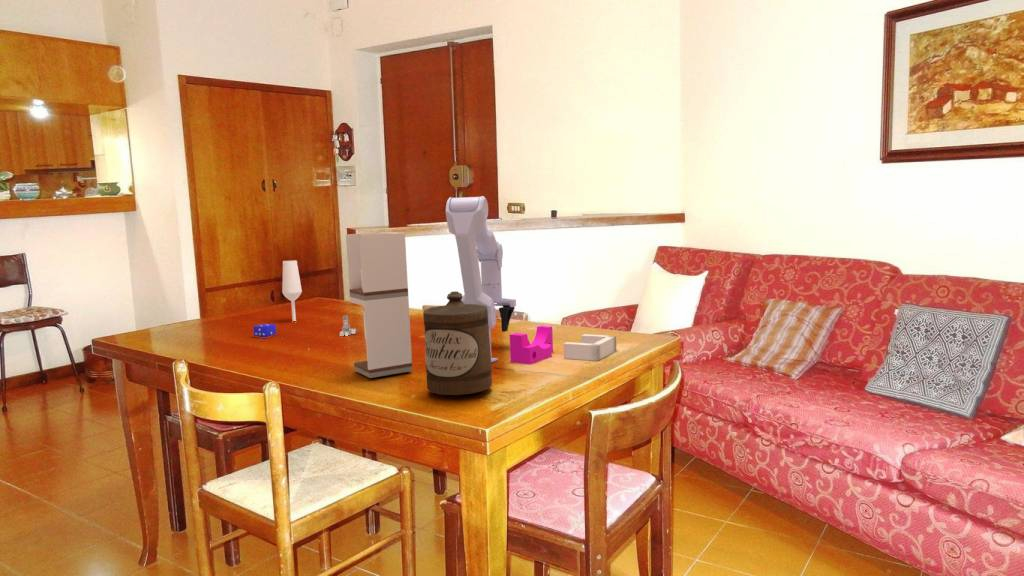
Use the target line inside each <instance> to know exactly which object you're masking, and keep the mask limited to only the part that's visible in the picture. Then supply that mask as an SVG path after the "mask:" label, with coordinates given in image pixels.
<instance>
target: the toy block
mask: <svg viewBox="0 0 1024 576" xmlns="http://www.w3.org/2000/svg"><path fill="white" fill-rule="evenodd" d="M553 337H554V335H553V326H551V325H538V326H536V332H535V335H534V339H533V340H532V342H531V343H530V341H529V337H528V333H521V332H514V333H510V334H509V351H510V352H509V354H510V355H509V356H510V363H516V364H526V365H533V364H536V363H538V362H540V361H542V360H546V359H549V358H551V357H552V356H553V354H552V353H554V339H553Z"/></svg>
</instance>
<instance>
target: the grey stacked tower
mask: <svg viewBox="0 0 1024 576" xmlns="http://www.w3.org/2000/svg"><path fill="white" fill-rule="evenodd" d="M345 242H346V256H347V257H346V258H347V273H348V274H347V275H348V289H349V302H350V303H351V304H356V305H359V306H362V307H363V312H362V313H363V326H364V329H363V330H364V338H365V339H364V340H365V342H366V343H365V344H366V345H365V346H366V357H367V358H366V360H362V361H356V362H354V363H353V364H354V365H353V366H354V367H353V368H354V372H357V373H359V374H361V375H363V376H364V377H367V378H369V379H372V378H378V377H384V376H390V375H396V374H402V373H407V372H412V371H413V358H412V357H413V355H412V341H411V340H412V337H411V321H410V304H409V302H410V301H409V299H410V298H409V285H408V281H409V280H408V264H407V263H408V262H407V250H406V249H407V248H406V232H393V231H391V232H389V231H388V232H386V231H385V232H384V231H383V232H371V233H370V232H368V233H351V234H350V233H349V234H345Z"/></svg>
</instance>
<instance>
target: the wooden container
mask: <svg viewBox="0 0 1024 576" xmlns="http://www.w3.org/2000/svg"><path fill="white" fill-rule="evenodd" d="M462 296H463V294H462V293H461V292H459V291H457V290H456V291H450V293H448V294H447V296H446V299H447V300H448V302H447V303H446V304H445V305H439V306H438V305H437V306H433V307H428V308H425V309H423V311H422V312H423V313H422V314H423V316H422V317H423V325H424V348H425V349H424V351H425V352H424V355H425V357H424V358H425V371H426V386H427V387H426V389H427V390H428V391H429V392H430V393H433V394H437V395H443V396H462V395H464V396H465V395H470V394H478V393H481V392H484V391H487V390H488V389H490V388H491V387H492V385H493V380H492V379H493V376H492V363H491V356H492V351H491V352H490V340H489V327H488V310H487V307H486V306H483V305H475V304H464V303H463V302H462V301H461V299H462Z"/></svg>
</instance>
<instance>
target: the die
mask: <svg viewBox="0 0 1024 576" xmlns="http://www.w3.org/2000/svg"><path fill="white" fill-rule="evenodd" d="M252 329H253V337H254V336H259V337H268V336H271V335H274V334H276V335H277V326H276V324H275V323H273V324H272V323H261V324H259V325H255V326H253V328H252Z"/></svg>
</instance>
